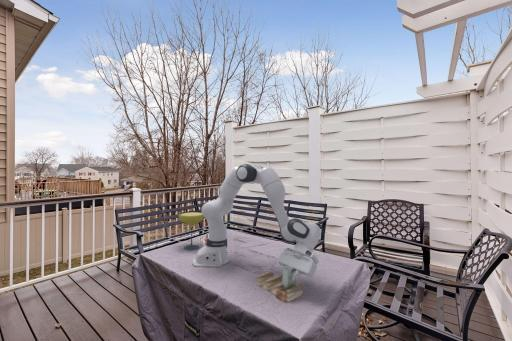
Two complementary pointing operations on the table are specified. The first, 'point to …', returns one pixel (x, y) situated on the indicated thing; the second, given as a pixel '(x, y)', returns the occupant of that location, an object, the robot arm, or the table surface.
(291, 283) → the block
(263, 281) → the rack
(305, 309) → the table surface
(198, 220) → the cocktail glass
